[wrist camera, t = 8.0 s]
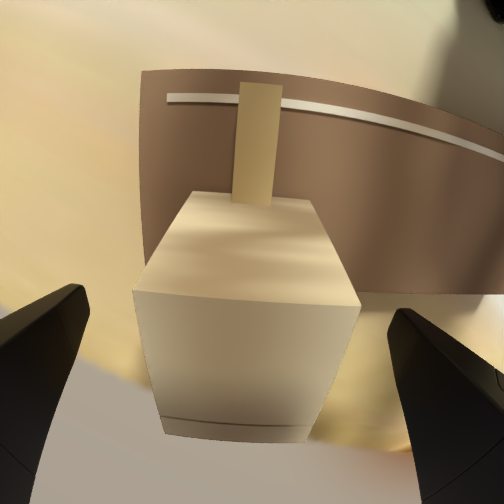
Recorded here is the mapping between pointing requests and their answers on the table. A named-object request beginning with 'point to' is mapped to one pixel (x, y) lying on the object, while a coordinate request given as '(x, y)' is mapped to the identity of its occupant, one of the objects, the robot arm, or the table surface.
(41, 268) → the table surface
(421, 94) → the table surface
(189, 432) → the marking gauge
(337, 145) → the walnut board
